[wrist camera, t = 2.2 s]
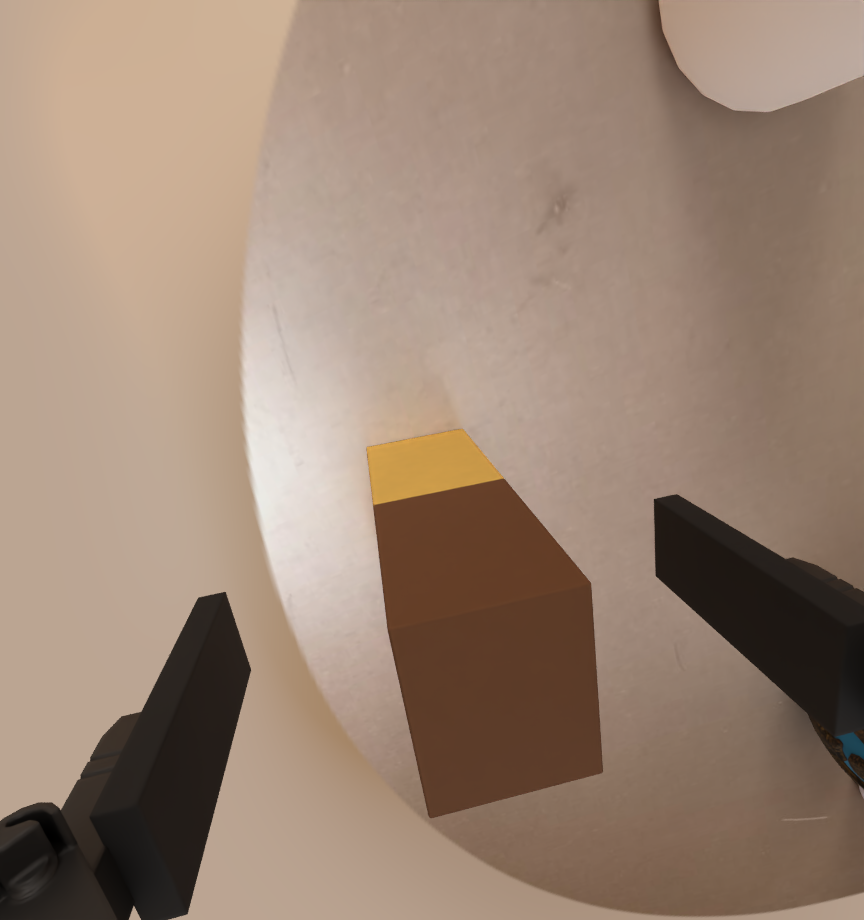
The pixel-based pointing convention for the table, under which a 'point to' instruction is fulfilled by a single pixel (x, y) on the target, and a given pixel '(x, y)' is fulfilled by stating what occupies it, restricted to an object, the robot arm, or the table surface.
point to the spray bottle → (861, 790)
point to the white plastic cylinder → (765, 48)
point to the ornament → (845, 750)
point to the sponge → (482, 627)
